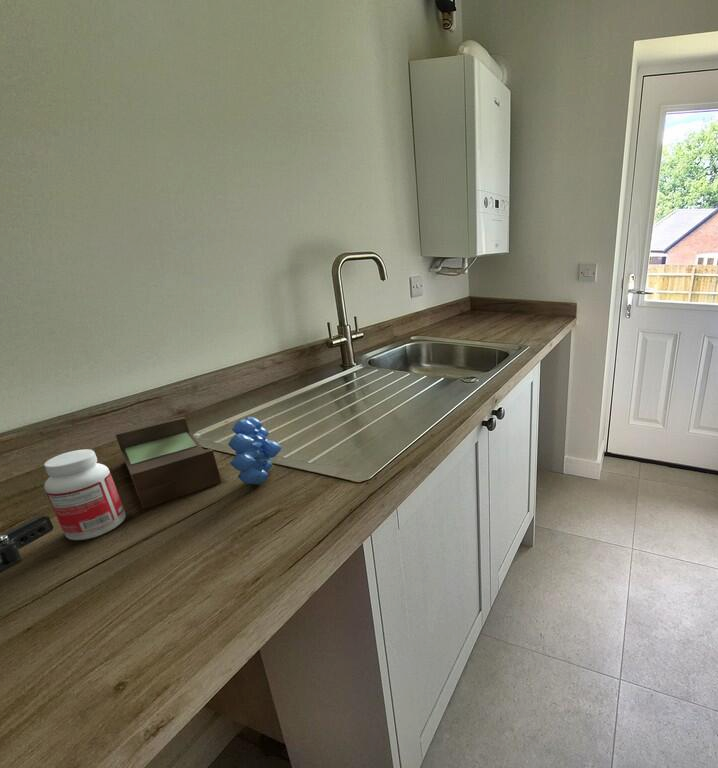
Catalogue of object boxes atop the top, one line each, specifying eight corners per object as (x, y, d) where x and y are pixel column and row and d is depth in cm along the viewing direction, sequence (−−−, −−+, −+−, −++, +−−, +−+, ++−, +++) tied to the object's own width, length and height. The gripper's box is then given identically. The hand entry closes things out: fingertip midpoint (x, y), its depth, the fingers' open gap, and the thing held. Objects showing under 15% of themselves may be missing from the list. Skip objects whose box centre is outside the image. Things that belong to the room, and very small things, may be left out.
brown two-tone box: (143, 509, 61) (131, 474, 59) (125, 462, 75) (114, 432, 73) (221, 482, 68) (213, 450, 66) (192, 444, 82) (184, 416, 80)
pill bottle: (97, 513, 60) (71, 446, 57) (138, 513, 60) (114, 446, 57) (52, 542, 54) (19, 469, 51) (97, 542, 54) (68, 469, 51)
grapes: (279, 498, 64) (264, 428, 60) (230, 505, 62) (211, 434, 58) (295, 462, 74) (283, 401, 70) (253, 468, 73) (239, 405, 69)
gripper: (-189, 616, 32) (57, 495, 47) (-324, 597, 33) (-44, 487, 49) (-139, 685, 34) (80, 549, 49) (-267, 664, 36) (-18, 539, 51)
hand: (18, 518), depth 49 cm, fingers open, 8 cm apart
